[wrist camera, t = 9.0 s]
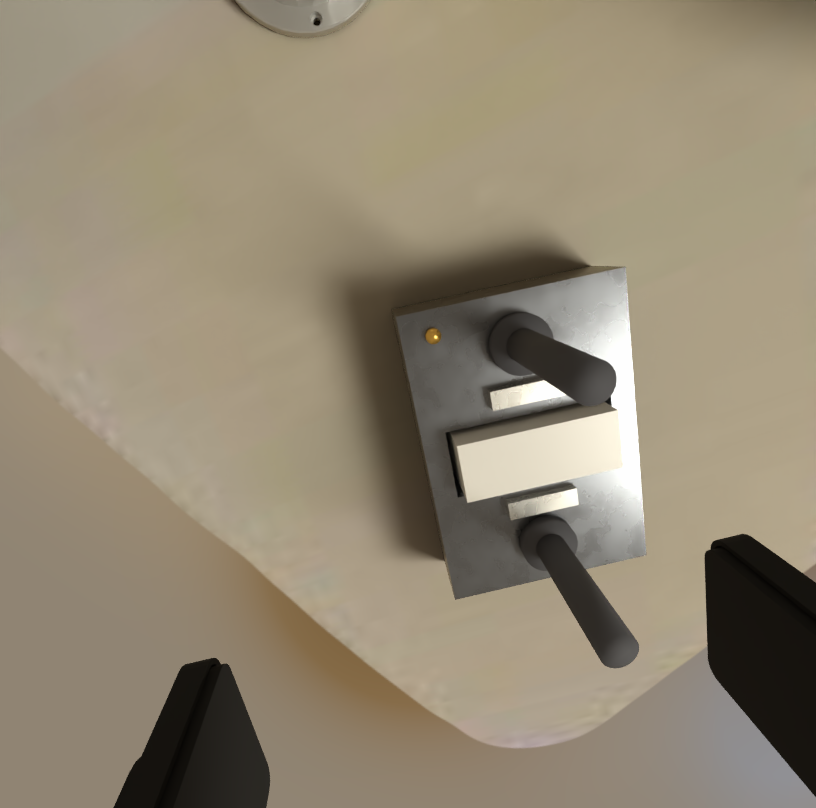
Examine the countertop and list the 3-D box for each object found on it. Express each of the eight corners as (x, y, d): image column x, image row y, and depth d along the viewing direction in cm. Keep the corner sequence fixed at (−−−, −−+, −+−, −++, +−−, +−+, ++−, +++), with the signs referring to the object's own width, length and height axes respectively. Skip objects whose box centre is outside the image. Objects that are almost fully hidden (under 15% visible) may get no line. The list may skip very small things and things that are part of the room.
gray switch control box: (391, 309, 43) (396, 318, 37) (591, 265, 44) (630, 267, 37) (444, 561, 51) (456, 605, 44) (614, 521, 51) (651, 560, 45)
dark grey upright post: (483, 319, 38) (543, 348, 26) (544, 305, 38) (633, 328, 26) (493, 378, 40) (554, 434, 27) (551, 365, 40) (639, 414, 27)
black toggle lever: (516, 522, 44) (578, 629, 31) (569, 510, 44) (653, 612, 31) (523, 568, 45) (586, 689, 32) (574, 556, 45) (657, 672, 32)
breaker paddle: (443, 418, 45) (456, 446, 39) (580, 387, 46) (618, 410, 39) (452, 468, 47) (467, 502, 40) (586, 437, 47) (623, 467, 41)
